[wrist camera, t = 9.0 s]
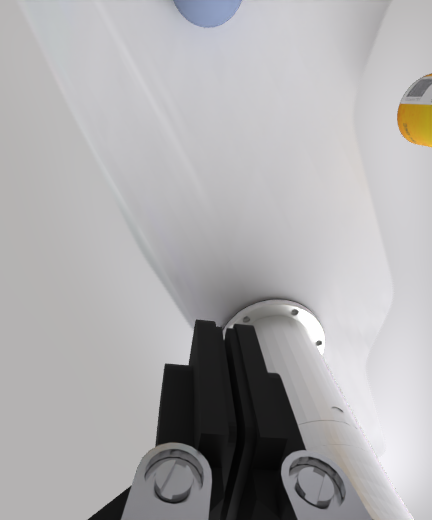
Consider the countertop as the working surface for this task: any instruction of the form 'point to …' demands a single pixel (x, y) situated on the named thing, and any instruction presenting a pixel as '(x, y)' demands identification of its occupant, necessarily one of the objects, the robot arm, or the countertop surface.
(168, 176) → the countertop surface
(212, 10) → the blue ball
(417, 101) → the drink can
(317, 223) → the countertop surface
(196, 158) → the countertop surface
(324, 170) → the countertop surface
